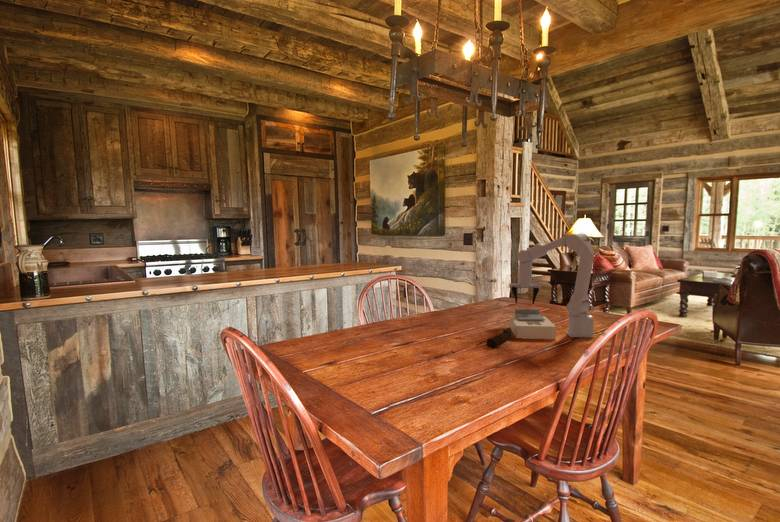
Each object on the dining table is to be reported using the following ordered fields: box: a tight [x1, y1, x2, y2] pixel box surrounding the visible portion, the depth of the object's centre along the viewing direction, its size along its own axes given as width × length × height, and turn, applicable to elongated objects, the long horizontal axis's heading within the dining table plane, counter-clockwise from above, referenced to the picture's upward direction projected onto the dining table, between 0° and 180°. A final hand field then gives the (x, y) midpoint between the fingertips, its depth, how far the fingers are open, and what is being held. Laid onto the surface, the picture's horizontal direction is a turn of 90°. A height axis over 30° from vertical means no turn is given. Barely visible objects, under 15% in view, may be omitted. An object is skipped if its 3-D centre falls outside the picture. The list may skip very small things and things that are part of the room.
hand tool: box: [486, 327, 512, 349], centre depth 165 cm, size 19×4×5 cm, turn 137°
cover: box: [514, 308, 545, 321], centre depth 182 cm, size 11×11×3 cm
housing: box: [509, 315, 557, 340], centre depth 178 cm, size 16×18×6 cm
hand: (524, 303), depth 191 cm, fingers open, 7 cm apart
